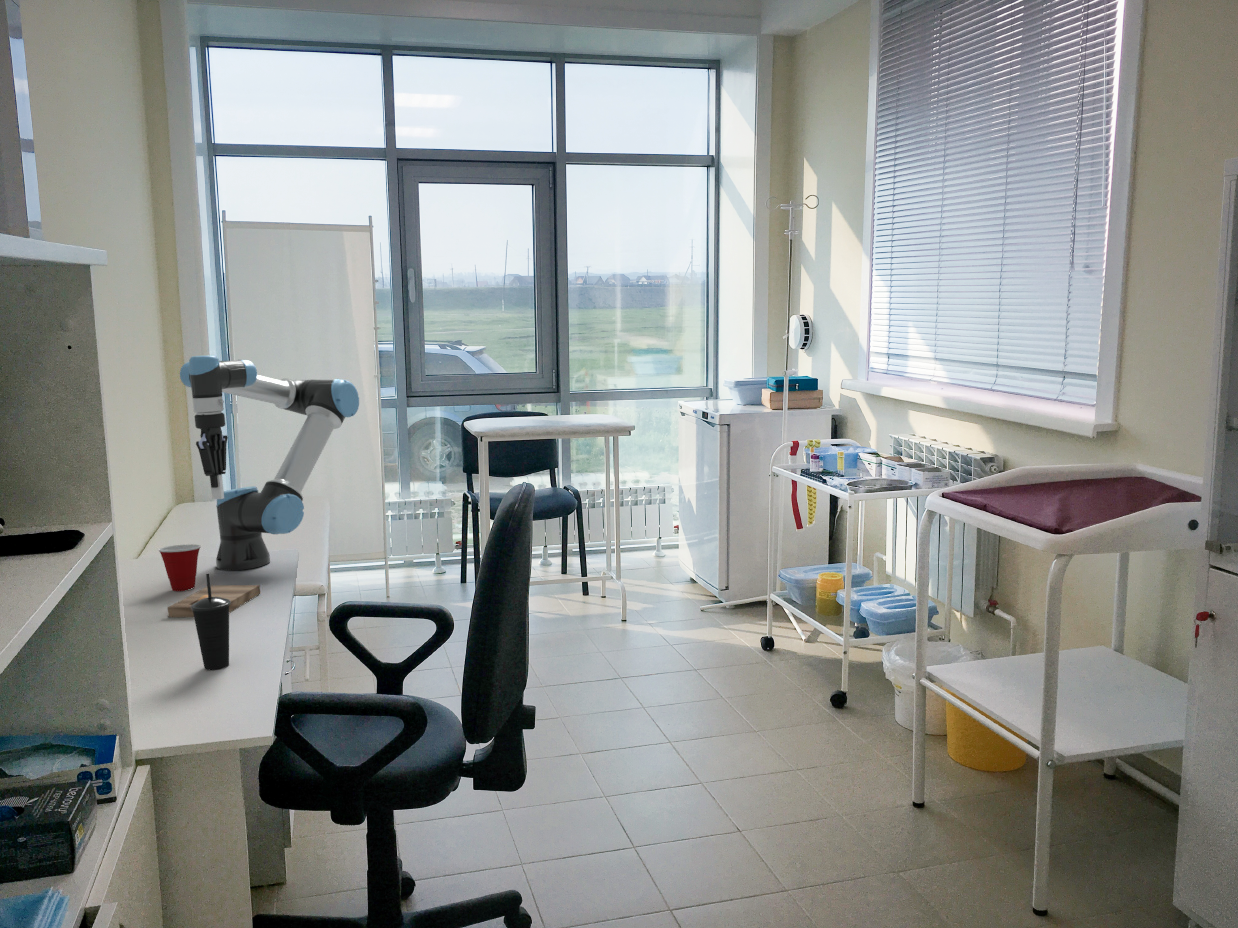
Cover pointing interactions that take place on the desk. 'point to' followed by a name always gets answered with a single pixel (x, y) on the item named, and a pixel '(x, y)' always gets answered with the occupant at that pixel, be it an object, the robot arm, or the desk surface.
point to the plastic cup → (181, 565)
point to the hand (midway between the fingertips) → (218, 498)
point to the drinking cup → (213, 629)
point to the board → (230, 592)
